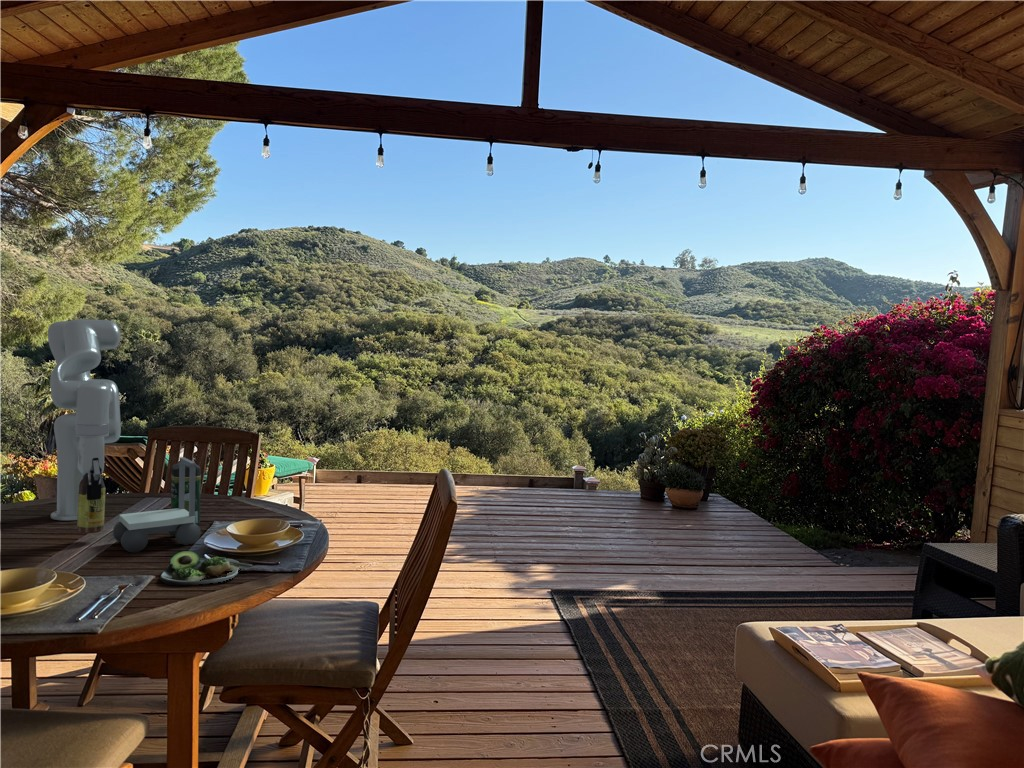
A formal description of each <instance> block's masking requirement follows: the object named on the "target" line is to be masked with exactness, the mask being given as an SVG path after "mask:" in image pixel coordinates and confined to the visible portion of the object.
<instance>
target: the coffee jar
mask: <svg viewBox="0 0 1024 768" xmlns="http://www.w3.org/2000/svg"><path fill="white" fill-rule="evenodd" d="M201 469H202V468H201V467H200V466H199V465H198V464H196V474H195V522H194V523H195V524H196V525H198V524H200V523H201V485H202V484H201V483H202V482H201V480H202V474H201V473H202V472H201V471H202V470H201ZM189 475H190V467H189V466H187V465H185V500H184V509H185V510H187V511H188V512H189ZM170 477H171V481H170V482H171V484H170V487H171V488H170V505H171V506H170V509H176V508H179V461H178V462H177V463H174V464H173V465H172V466H171V476H170Z"/></svg>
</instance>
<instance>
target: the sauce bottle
mask: <svg viewBox="0 0 1024 768" xmlns="http://www.w3.org/2000/svg"><path fill="white" fill-rule="evenodd" d="M100 469H101V468H100ZM90 473H94V472H93V471H90ZM91 477H92V476H91ZM104 482H105V481H104V479H103V476H102V474H101V499H96V500H87V485H88V473H86V474H85V476H84V478H83V479H82V480H81V482H80V484H79V493H78V515H77V520H76V526H77V532H78V533H79V534H85V535H86V534H87V535H88V534H96V533H99V532H101V531H103V530H104V525H105V514H106V511H105V510H106V509H105V508H106V489H107V488H106V486H105V483H104Z"/></svg>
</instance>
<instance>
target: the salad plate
mask: <svg viewBox="0 0 1024 768" xmlns="http://www.w3.org/2000/svg"><path fill="white" fill-rule="evenodd" d="M251 567H253V564H250V563H244V562H239V561H238V560H237V559H233V558H226V557H225V556H224V557H222V556H220V557H219V556H217V555H216V556H214V557H208V558H203V557H200V555H199V554H198V553H196V552H194V551H191V550H184V551H183V550H182V551H180V552H177V553H175V554H174V555H173V556H171V557H170V559H169V565H168V566H167V567H166V568H165V569H164V570H163V572H162V573H161V575H160V576H159V580H160V581H161V582H162V583H163V582H164V583H163V584H165V585H168V584H169V585H168V586H174V585H183V587H186V586H185V585H187V586H200V585H199V584H203V585H211V584H210V583H213V584H219V583H218V582H221V583H224V582H223V581H225V582H227V581H226V580H228V581H230V580H229V579H231V580H233V579H234V577H235V576H238V574H239V572H238V569H239V568H244V569H246V568H251ZM233 569H234V570H233ZM227 570H233V571H232V572H229V573H227V576H226V577H222V576H221V577H218V578H211V579H206V578H205V577H208V576H216V575H219V574H222V573H224V572H225V571H227ZM204 578H205V579H204ZM208 578H209V577H208ZM232 578H233V579H232ZM235 578H236V577H235ZM202 579H203V580H202ZM200 580H201V581H200Z"/></svg>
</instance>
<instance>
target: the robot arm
mask: <svg viewBox="0 0 1024 768" xmlns="http://www.w3.org/2000/svg"><path fill="white" fill-rule="evenodd" d="M47 339H48V341H47V342H48V345H49V349H50V351H51V354H52V356H53V358H54V361H55V362H56V364H55V366H54V367H53V369H52V370H51V374H50V379H49V385H50V386H49V387H50V396H51V401H52V403H53V405H54V406H55V407H57V408H60V409H66V410H71V411H73V410H74V411H76V412H72V413H66V414H62V415H60V416H58V417H57V418H55V421H54V422H53V430H54V431H53V432H54V440H55V445H56V457H57V459H56V463H57V464H56V466H57V469H56V471H57V472H56V473H57V474H56V477H57V478H56V479H57V480H56V482H57V483H56V510H55V511H53V512H51V513H50V519H52V520H55V521H64V522H65V521H77V515H78V493H79V484H80V482H81V480H82V479H83V478H84V476H85V474H86V473H88V485H87V500H96V499H101V475H102V474H103V473H104V471H105V444H112V443H116V442H118V441H119V439H120V436H121V433H122V429H121V427H122V423H121V422H122V421H121V408H120V407H121V406H120V395H119V394H120V393H119V388H118V385H117V384H116V383H115V382H114V381H113V380H110V379H104V378H103V379H99V378H98V379H97V378H95V379H93V378H92V377H91V371H92V370H93V369H95V368H97V367H98V366H99V365H100V363H101V360H102V355H101V350H103V351H104V350H105V351H107V350H108V351H109V350H114V349H117V347H118V346H119V345H120V342H121V330H120V327H119V325H118V324H117V323H116V322H115V321H113V320H106V319H92V318H91V319H90V318H76V319H72V320H61V321H55V322H53V323H50V324H49V326H48V329H47ZM100 468H101V469H100ZM90 471H93V472H94V473H90ZM91 476H92V477H91Z"/></svg>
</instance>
